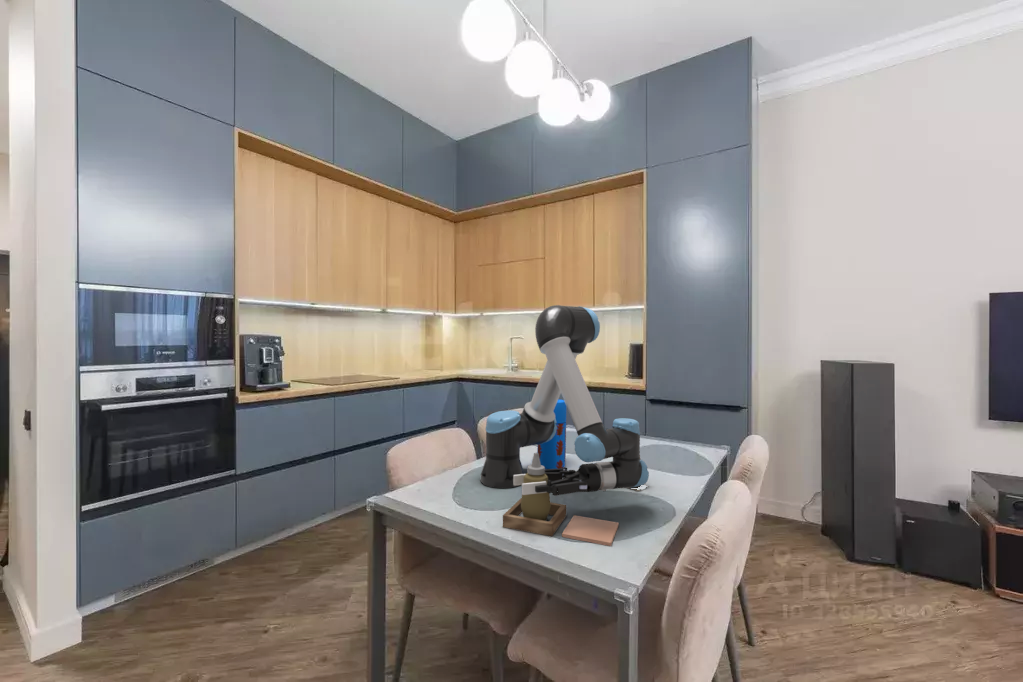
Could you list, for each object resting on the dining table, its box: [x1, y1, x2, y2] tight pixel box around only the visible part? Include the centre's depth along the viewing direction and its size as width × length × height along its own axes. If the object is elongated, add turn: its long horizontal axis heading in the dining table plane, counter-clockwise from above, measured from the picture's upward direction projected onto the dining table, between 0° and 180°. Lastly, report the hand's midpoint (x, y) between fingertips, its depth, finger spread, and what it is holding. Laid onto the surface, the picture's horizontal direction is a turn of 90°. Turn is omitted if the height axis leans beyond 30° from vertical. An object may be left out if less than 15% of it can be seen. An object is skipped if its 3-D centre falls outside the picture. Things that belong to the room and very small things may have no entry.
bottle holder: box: [502, 498, 567, 537], centre depth 115 cm, size 13×13×3 cm
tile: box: [561, 514, 620, 547], centre depth 109 cm, size 12×12×1 cm
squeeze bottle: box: [520, 452, 551, 521], centre depth 115 cm, size 8×8×18 cm
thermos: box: [536, 398, 567, 469], centre depth 165 cm, size 11×11×25 cm
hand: (518, 484), depth 113 cm, fingers closed on squeeze bottle, 6 cm apart
